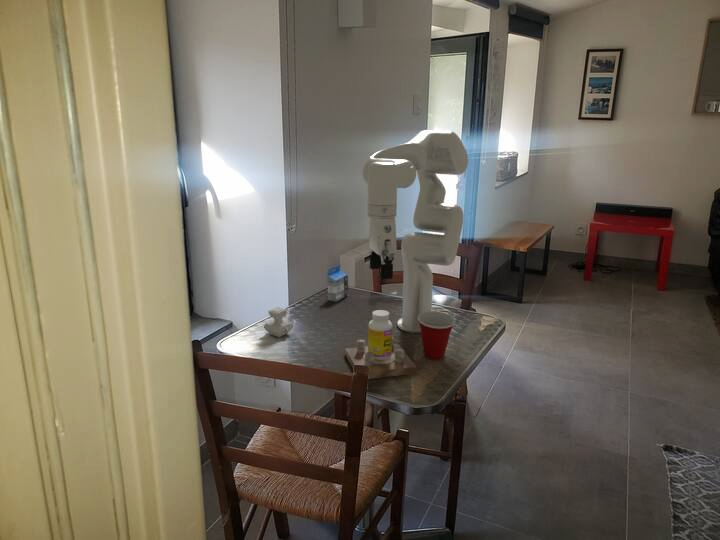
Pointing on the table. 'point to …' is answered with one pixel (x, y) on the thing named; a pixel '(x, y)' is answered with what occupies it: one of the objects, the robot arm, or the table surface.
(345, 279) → the label tape box
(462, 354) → the table surface
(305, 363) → the table surface
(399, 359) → the stub board
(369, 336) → the supplement bottle
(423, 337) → the plastic cup
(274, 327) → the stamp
